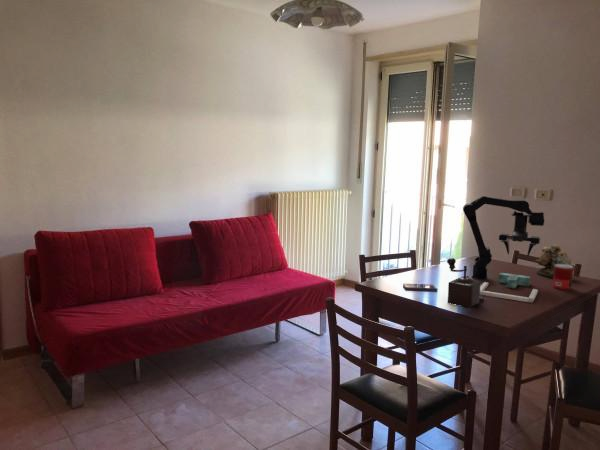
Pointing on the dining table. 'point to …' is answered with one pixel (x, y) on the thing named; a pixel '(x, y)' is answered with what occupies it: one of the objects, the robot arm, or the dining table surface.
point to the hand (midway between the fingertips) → (518, 255)
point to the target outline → (506, 296)
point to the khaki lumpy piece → (551, 260)
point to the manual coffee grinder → (462, 288)
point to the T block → (514, 280)
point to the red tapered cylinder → (562, 276)
